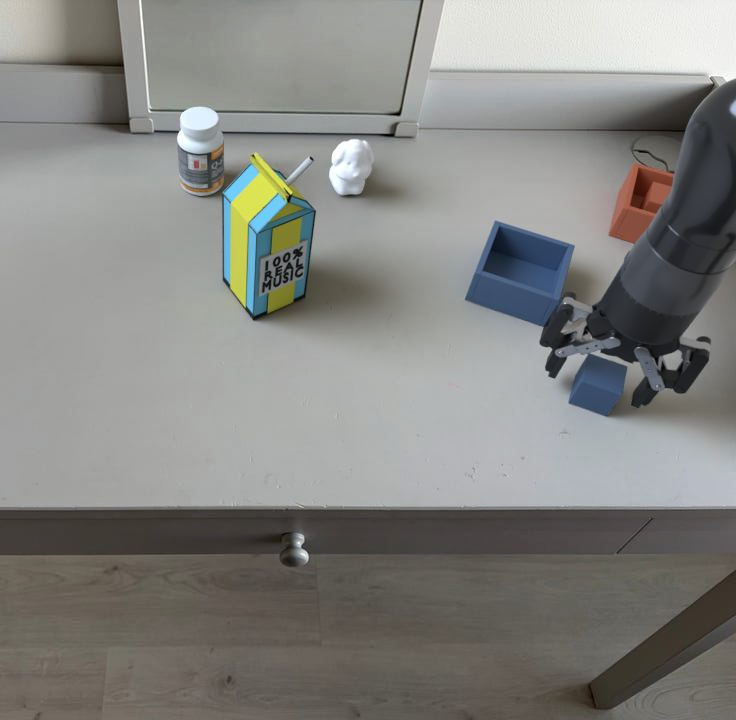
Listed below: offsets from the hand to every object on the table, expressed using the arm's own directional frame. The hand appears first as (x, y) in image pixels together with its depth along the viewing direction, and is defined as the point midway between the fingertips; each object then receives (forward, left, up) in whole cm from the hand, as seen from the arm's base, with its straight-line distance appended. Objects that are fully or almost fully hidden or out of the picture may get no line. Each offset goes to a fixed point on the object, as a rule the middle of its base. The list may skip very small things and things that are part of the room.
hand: (593, 386), depth 81 cm
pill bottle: (+52, -12, -2) cm, 53 cm away
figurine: (+35, -20, -2) cm, 40 cm away
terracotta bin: (-3, -31, -2) cm, 31 cm away
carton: (+37, +1, -2) cm, 37 cm away
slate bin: (+11, -12, -2) cm, 16 cm away
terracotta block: (-3, -31, -1) cm, 31 cm away
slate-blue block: (0, 0, -2) cm, 2 cm away
